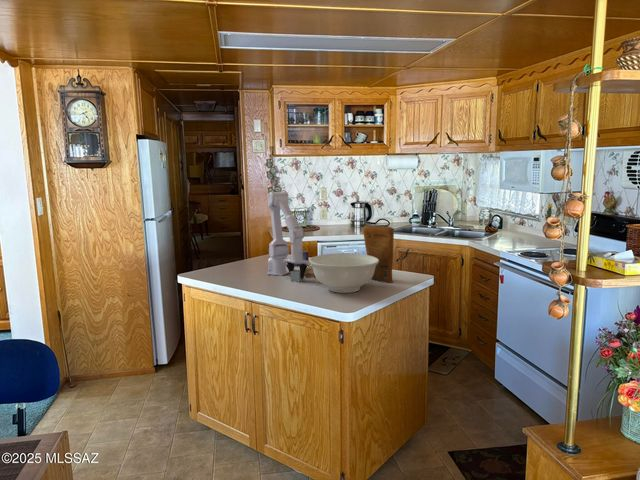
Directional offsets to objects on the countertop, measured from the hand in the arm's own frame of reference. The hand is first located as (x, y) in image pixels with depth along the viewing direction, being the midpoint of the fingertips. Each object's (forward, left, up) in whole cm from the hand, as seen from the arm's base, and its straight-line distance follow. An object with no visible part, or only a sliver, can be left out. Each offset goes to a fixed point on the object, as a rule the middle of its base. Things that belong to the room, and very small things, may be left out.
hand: (297, 277), depth 241 cm
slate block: (0, 0, -1) cm, 1 cm away
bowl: (+28, -6, -2) cm, 29 cm away
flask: (-14, +32, -2) cm, 35 cm away
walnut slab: (+2, +12, -2) cm, 12 cm away
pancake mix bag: (+38, +17, -2) cm, 42 cm away
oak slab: (+2, +12, +1) cm, 12 cm away
